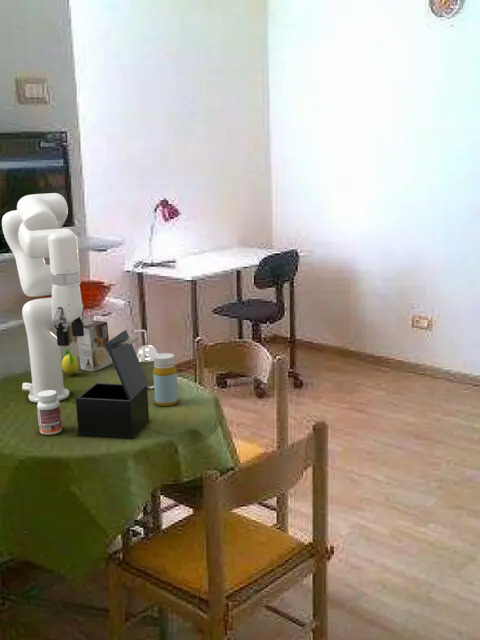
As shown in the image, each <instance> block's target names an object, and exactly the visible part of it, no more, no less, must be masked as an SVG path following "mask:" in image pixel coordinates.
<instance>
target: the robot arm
mask: <svg viewBox="0 0 480 640" xmlns="http://www.w3.org/2000/svg"><path fill="white" fill-rule="evenodd" d="M68 207H69V206H68V203H67V200H66V198H65V197H64V196H63V195H62V194H60V193H57V192H51V193H34V194H27V195H24V196H22V197H21V198H20V199H19V200H18V201H17V204H16V209H15V210H10V211H8V212H6V213H4V215H2V219H1V228H2V233H3V235H4V236H3V237H4V239H5V241H6V243H7V245H8V247H9V249H10V251H11V252H12V254H13V256H14V259H15V264H16V269H17V273H18V278H19V283H20V286H21V290H22V292H23V294H24V295H25V296H27V297H31V298H33V297H34V298H35V297H43V298H35V299H32V300H29V301H27V302H26V303H24V305H23V306H22V309H21V313H22V314H21V315H22V320H23V323H24V326H25V332H26V337H27V344H28V345H27V346H28V352H29V366H30V373H31V374H30V375H31V382H23V383H22V385H21V390H22V391H24V392H29V393H28V400H29V401H30V402H31V403H37V404H38V402H40V401H38V393H39V392H41V391H45V390H54V391H56V392H57V400H58V401H59V402H60V401H64V400H65V399H67V398H69V396H70V390H69V389H68V388H65V383H64V373H63V372H64V371H63V369H62V360H63V359H62V351H61V347H68V346H70V334H69V333H70V332H69V330H68V327H71V334H72V337H78V336H81V337H82V336H84V330H83V324H84V317H83V316H84V303H83V300H82V292H81V287H80V285H81V271H80V260H79V257H80V256H79V247H78V237H77V235H76V234H75V232H73V230H72V229H70V228H66V227H65V228H63V226H64V224H65V222H66V220H67V218H68V213H69V212H68V211H69V208H68ZM45 258H47V259H48V258H49V264H47V263H46V261H45ZM44 296H51V297H44ZM53 329H55V330H54V331H55V333H53V332H52V331H51V330H53Z"/></svg>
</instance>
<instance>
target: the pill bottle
mask: <svg viewBox="0 0 480 640" xmlns="http://www.w3.org/2000/svg"><path fill="white" fill-rule="evenodd" d="M38 401H40V402H38V403H37V405H36V409H37V420H38V428H39V433H40V434H41V435H44V436H50V435H56V434H59V433H60V432H62V430H63V423H62V412H61V402H60V401H58V400H57V392H56V391H54V390H45V391H41V392H39V393H38Z"/></svg>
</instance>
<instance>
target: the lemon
mask: <svg viewBox="0 0 480 640" xmlns="http://www.w3.org/2000/svg"><path fill="white" fill-rule="evenodd" d="M64 355H65V356H64V357H63V358H62V359H61V360H62V371H63V372H64V373H65V374H67V375H69V376H73V375H74V374H75V373H77V372H78V370H79V361H78V359H77V357H76V356H74V355H73V354H71V351H70V347H67V348H65V350H64Z"/></svg>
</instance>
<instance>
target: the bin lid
mask: <svg viewBox="0 0 480 640" xmlns="http://www.w3.org/2000/svg"><path fill="white" fill-rule="evenodd" d="M139 338H140V336H139V334H137V333H134V334H133V335H131V336H129V333H128V330H127V329H125V330H123V331H121V332H120V333H118V334H117V335H115V336H114V337H112V338H111V339H109V341H108V342H107V343H105V345H106V347H107V350H108V352H109V354H110V360H111V361H112V364H113V366H114V369H115V371H116V374H117V376H118V378H119V381H120V384H122V386H123V388H124V391H125V393H126V395H127V398H128V400H130V399H132V398H133V397H134V396H135V395H136V394H137V393H138V392H139V391H140V390H141V389H142V388H143V387H145V386H146V385H147V384H148V382H147V379H146V377H145V375H144V372H143V370H142V367H141V365H140V362H139V360H138V357H137V355H136V353H137V352H136V350H135V348H134V346H133V343H135V342H137V341H138V340H139Z"/></svg>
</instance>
